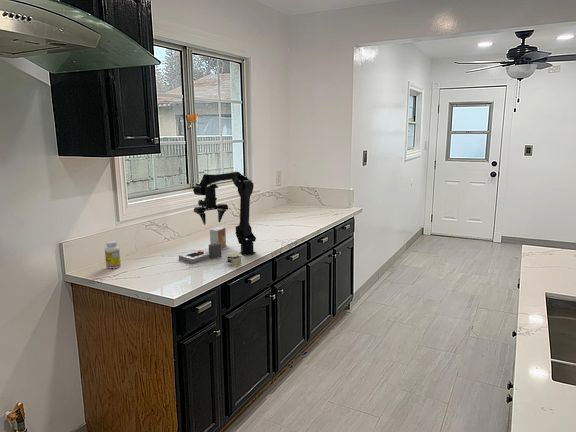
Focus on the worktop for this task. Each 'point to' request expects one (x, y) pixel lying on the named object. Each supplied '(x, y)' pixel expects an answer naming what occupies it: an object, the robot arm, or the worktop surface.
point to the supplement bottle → (112, 255)
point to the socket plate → (194, 257)
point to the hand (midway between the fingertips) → (212, 223)
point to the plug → (214, 250)
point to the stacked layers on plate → (234, 259)
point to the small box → (218, 236)
